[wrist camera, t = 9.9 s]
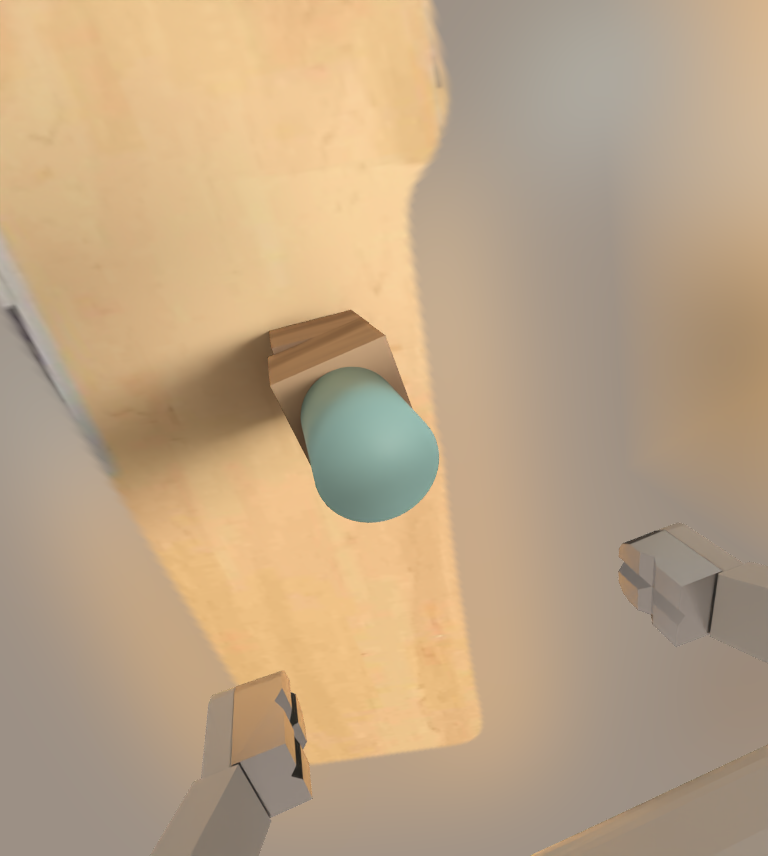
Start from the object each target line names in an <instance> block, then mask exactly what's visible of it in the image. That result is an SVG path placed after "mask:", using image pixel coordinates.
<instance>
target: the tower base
mask: <svg viewBox="0 0 768 856" xmlns="http://www.w3.org/2000/svg"><path fill="white" fill-rule="evenodd" d="M358 318H360V316H359V315H358V314H356V313H355V312H353V311H352V310H349V311H345V312H341V313H337V314H333V315H329V316H325V317H321V318H317V319H314V320H310V321H306V322H302V323H298V324H294V325H290V326H286V327H282V328H279V329H275V330H271V331H269V333H270V341H271V348H272V351H273V355H274V354H277V353H279V352H281V351H284V350H286V349H288V348H291V347H293V346H295V345H297V344H300V343H302V342H304V341H307V340H309V339H311V338H314V337H316V336H318V335H321V334H323V333H325V332H328V331H330V330H332V329H335V328H337V327H339V326H342V325H344V324H346V323H349V322H351V321H353V320H356V319H358ZM361 318H362V317H361ZM362 319H363V318H362ZM363 320H364V319H363ZM365 321H366V320H365ZM366 322H367V321H366ZM368 323H369V322H368Z"/></svg>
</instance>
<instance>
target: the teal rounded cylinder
mask: <svg viewBox="0 0 768 856" xmlns="http://www.w3.org/2000/svg"><path fill="white" fill-rule="evenodd" d="M301 425H302V429H303V434H304V438H305V442H306V446H307V451H308V455H309V459H310V463H311V468H312V472H313V476H314V480H315V485H316V488H317V490H318V493H319V495H320V496H321V498H322V500H323V501H324V502H325V504H326V505H327V506H328V507H329V508H330V509H331V510H333V511H334V512H335V513H337V514H338V515H340V516H342V517H344V518H347V519H350V520H353V521H358V522H367V523H370V522H381V521H385V520H389V519H392V518H395V517H397V516H400V515H401V514H403V513H405V512H407V511H408V510H410V509H411V508H413V507H414V506H415V505H416V504H417V503H419V501H420V500H421V499H422V498H423V497H424V496H425V495H426V493H427V492H428V491H429V489H430V487H431V486H432V484H433V482H434V479H435V477H436V474H437V470H438V464H439V451H438V446H437V442H436V439H435V437H434V435H433V433H432V431H431V430H430V428H429V427H428V426H427V424H426V423H425V422H424V421H423V420H422V419H421V418H420V417H419V416H418V415H417V413H416V412H415V411H414V410H413V409H412V408H411V407H410V406H409V405H408V404H407V403H406V402H405V400H404V399H403V398H402V397H401V396H400V395H399V394H398V393H397V392H396V391H395V390H394V388H393V387H392V386H391V385H390V384H389V383H388V382H387V381H386V380H385V379H384V378H383V377H382V376H380V375H379V374H377V373H375V372H373V371H371V370H369V369H366V368H361V367H344V368H339V369H336V370H333V371H331V372H329V373H327V374H325V375H323V376H322V377H320V378H319V379H318V380H317V381H316V382H315V383H314V384H313V385H312V386H311V387H310V389H309V390H308V392H307V394H306V396H305V398H304V400H303V403H302V407H301Z"/></svg>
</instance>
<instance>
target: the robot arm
mask: <svg viewBox="0 0 768 856" xmlns="http://www.w3.org/2000/svg"><path fill="white" fill-rule="evenodd" d="M619 558H621V559H622V560H623V561H624V563H623V565H622V566H621V568H620V569H619V571H618V573H619V584H620V586H621V589H622V591H623V593H624V595H625V596H626V597H627V599H628V600H629V602H630V603H631V604H632V605H633V606H634V607H635V608H636V609H637V610H639V611H642V612H645V613H648V614H650V615H651V619H652V624H653V625H654V626H655V627H656V628H657V629H658V630H659V631H660V632H661V633H662V634H663V635H664V636H665V637H666V638H667V639H668V640H669V641H670V642H671V643H672V644H673V645H674V646H675V647H677V646H680V645H683V644H685V643H688V642H691V641H693V640H696V639H699V638H701V637H704V636H706V635H709V634H710V637H712V638H714V639H716V640H718V641H720V642H723V643H725V644H727V645H729V646H731V647H733V648H736V649H738V650H740V651H742V652H744V653H747V654H749V655H751V656H753V657H755V658H758V659H760V660H762V661H764V662H766V663H768V566H765V565H762V564H758V563H754V562H746V563H742V562H741V561H739V560H738V559H736V558H735V557H733V556H732V555H730V554H729V553H727V552H726V551H724V550H723V549H721V548H720V547H718V546H717V545H715V544H714V543H712V542H711V541H709V540H708V539H706V538H705V537H703V536H702V535H700V534H699V533H697V532H696V531H694V530H693V529H691V528H689V527H688V526H686V525H685V524H682V523H675V524H672V525H670V526H667V527H664V528H662V529H659V530H656V531H653V532H650V533H648V534H645V535H643V536H640V537H638V538H635V539H633V540H630V541H627V542H625V543H622V544H621V546H620V548H619ZM306 742H307V739H306V730H305V724H304V719H303V714H302V710H301V707H300V704H299V701H298V699H297V696H296V694H294V693H291V692H290V680H289V678H288V676H287V674H286V672H285V671H279V672H276V673H274V674H271V675H268V676H265V677H262V678H259V679H256V680H253V681H250V682H247V683H244V684H241V685H239V686H236V687H234V688H231V689H228V690H225V691H222V692H219V693H217V694H214V695H212V697H211V699H210V702H209V705H208V715H207V725H206V735H205V745H204V754H203V764H202V775H201V779H199V780H196V781H194V782H193V783H192V785H191V787H190V789H189V790H188V792H187V794H186V795H185V797H184V799H183V800H182V802H181V804H180V805H179V807H178V809H177V811H176V812H175V814H174V816H173V817H172V819H171V821H170V822H169V824H168V826H167V827H166V829H165V831H164V832H163V834H162V836H161V838H160V839H159V841H158V843H157V844H156V846H155V848H154V849H153V851H152V853H151V854H150V856H259V853H260V851H261V848H262V845H263V842H264V840H265V837H266V834H267V831H268V828H269V825H270V823H271V820H270V818H271V817H273V816H275V815H278V814H280V813H282V812H284V811H287V810H289V809H291V808H293V807H295V806H298V805H300V804H302V803H304V802H306V801H308V800H311V799H312V788H311V779H310V767H309V762H308V760H307V758H306V756H305V753H304V751H303V749H304V747H305V744H306ZM531 856H768V744H767V745H765V746H763V747H761V748H759V749H757V750H755V751H753V752H750V753H748V754H746V755H744V756H742V757H740V758H737V759H735V760H733V761H731V762H729V763H727V764H725V765H723V766H721V767H718V768H716V769H714V770H712V771H710V772H708V773H706V774H703V775H701V776H699V777H697V778H695V779H693V780H691V781H688V782H686V783H684V784H682V785H680V786H678V787H676V788H673V789H671V790H669V791H667V792H665V793H663V794H661V795H659V796H656V797H655V798H652V799H650V800H648V801H646V802H644V803H641V804H639V805H637V806H635V807H633V808H631V809H629V810H627V811H625V812H622V813H620V814H618V815H616V816H614V817H612V818H609V819H608V820H605V821H603V822H601V823H599V824H597V825H595V826H593V827H590V828H588V829H586V830H584V831H582V832H580V833H577V834H575V835H573V836H571V837H569V838H567V839H565V840H563V841H560V842H558V843H556V844H554V845H552V846H550V847H548V848H546V849H544V850H541V851H539V852H537V853H535V854H533V855H531Z"/></svg>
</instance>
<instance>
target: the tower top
mask: <svg viewBox="0 0 768 856" xmlns="http://www.w3.org/2000/svg"><path fill="white" fill-rule="evenodd" d="M344 367H361V368H366V369H369V370H371V371H373V372H375V373H377V374H379V375H380V376H382V377H383V378H384V379H385V380H386V381H387V382H388V383H389V384H390V385H391V386H392V387H393V388H394V390H395V391H396V392H397V393H398V394H399V395H400V396H401V397H402V398H403V399H404V400H405V402H406V403H407V404H408V405H409V406H410V407H411V408H412V406H411V404H410V401H409V398H408V396H407V393H406V390H405V387H404V385H403V382H402V379H401V377H400V374H399V371H398V368H397V366H396V363H395V360H394V358H393V355H392V352H391V350H390V347H389V344H388V341H387V339H386V336H385V335H384V334H383V333H381V332H380V331H379V330H377V329H376V328H374V327H373V326H372V325H370V324H369V323H368V322H366V321H365V320H363V319H362V318H361V317H360V318H358V319H356V320H353V321H351V322H349V323H346V324H344V325H342V326H339V327H337V328H335V329H332V330H330V331H328V332H325V333H323V334H321V335H318V336H316V337H314V338H311V339H309V340H307V341H304V342H302V343H300V344H297V345H295V346H293V347H291V348H288V349H286V350H284V351H281V352H279V353H277V354H274V355H272V356H270V357H268V368H269V380H270V387H271V389H272V391H273V393H274V395H275V397H276V399H277V400H278V402H279V404H280V406H281V408H282V410H283V412H284V414H285V416H286V418H287V420H288V422H289V424H290V426H291V428H292V430H293V432H294V434H295V436H296V438H297V440H298V442H299V444H300V446H301V447H302V449H303V451H304V453H305V455H306V457H307V459H308V461H309V463H310V459H309V455H308V451H307V446H306V442H305V438H304V434H303V429H302V425H301V407H302V403H303V400H304V398H305V396H306V394H307V392H308V390H309V389H310V387H311V386H312V385H313V384H314V383H315V382H316V381H317V380H318V379H319V378H320V377H322V376H323V375H325V374H327V373H329V372H331V371H333V370H336V369H339V368H344ZM310 465H311V463H310Z"/></svg>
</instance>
